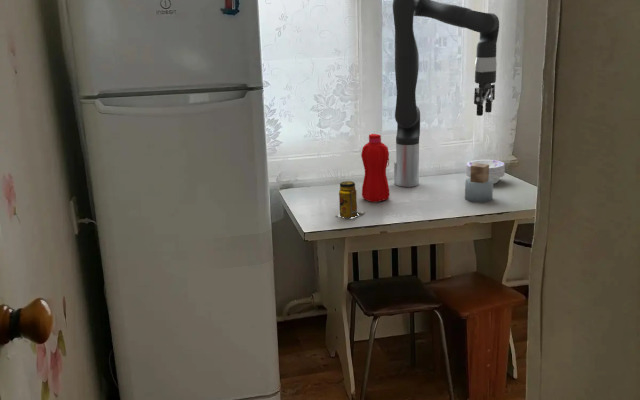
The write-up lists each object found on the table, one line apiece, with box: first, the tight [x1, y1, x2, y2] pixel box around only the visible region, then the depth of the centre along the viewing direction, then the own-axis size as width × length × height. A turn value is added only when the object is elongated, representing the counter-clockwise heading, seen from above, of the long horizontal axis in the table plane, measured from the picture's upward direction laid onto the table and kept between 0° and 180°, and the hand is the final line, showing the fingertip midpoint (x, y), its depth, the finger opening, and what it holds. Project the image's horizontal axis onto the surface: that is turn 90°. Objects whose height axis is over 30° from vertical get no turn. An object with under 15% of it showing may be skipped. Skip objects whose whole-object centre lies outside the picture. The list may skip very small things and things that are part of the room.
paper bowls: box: [465, 159, 506, 185], centre depth 247 cm, size 15×15×8 cm
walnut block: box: [469, 163, 489, 183], centre depth 222 cm, size 5×5×6 cm
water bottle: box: [360, 133, 390, 203], centre depth 227 cm, size 9×11×25 cm
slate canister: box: [464, 177, 494, 204], centre depth 224 cm, size 10×10×7 cm
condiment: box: [338, 180, 366, 219], centre depth 211 cm, size 7×8×12 cm
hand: (484, 113), depth 226 cm, fingers open, 8 cm apart
